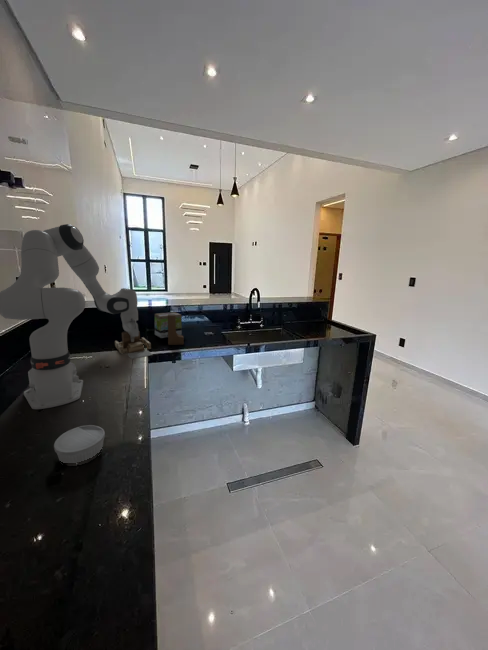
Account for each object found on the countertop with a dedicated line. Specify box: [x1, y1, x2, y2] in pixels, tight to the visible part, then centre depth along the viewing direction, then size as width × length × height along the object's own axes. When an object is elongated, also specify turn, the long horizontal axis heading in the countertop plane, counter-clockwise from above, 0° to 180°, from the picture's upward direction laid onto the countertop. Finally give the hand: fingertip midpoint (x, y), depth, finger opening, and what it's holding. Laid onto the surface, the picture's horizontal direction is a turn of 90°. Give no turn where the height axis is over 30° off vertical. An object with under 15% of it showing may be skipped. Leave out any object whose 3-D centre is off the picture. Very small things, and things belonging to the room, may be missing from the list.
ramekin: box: [53, 424, 106, 463], centre depth 70 cm, size 11×11×5 cm
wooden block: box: [167, 314, 185, 346], centre depth 161 cm, size 9×4×18 cm, turn 104°
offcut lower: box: [127, 345, 146, 354], centre depth 148 cm, size 4×8×2 cm, turn 127°
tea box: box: [154, 311, 183, 339], centre depth 179 cm, size 15×10×15 cm
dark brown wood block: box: [121, 330, 141, 348], centre depth 154 cm, size 4×9×8 cm, turn 127°
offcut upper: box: [128, 342, 143, 348], centre depth 148 cm, size 4×7×2 cm, turn 133°
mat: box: [126, 349, 153, 360], centre depth 143 cm, size 8×11×1 cm
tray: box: [114, 336, 152, 354], centre depth 153 cm, size 15×16×4 cm
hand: (131, 340), depth 154 cm, fingers closed on dark brown wood block, 3 cm apart
